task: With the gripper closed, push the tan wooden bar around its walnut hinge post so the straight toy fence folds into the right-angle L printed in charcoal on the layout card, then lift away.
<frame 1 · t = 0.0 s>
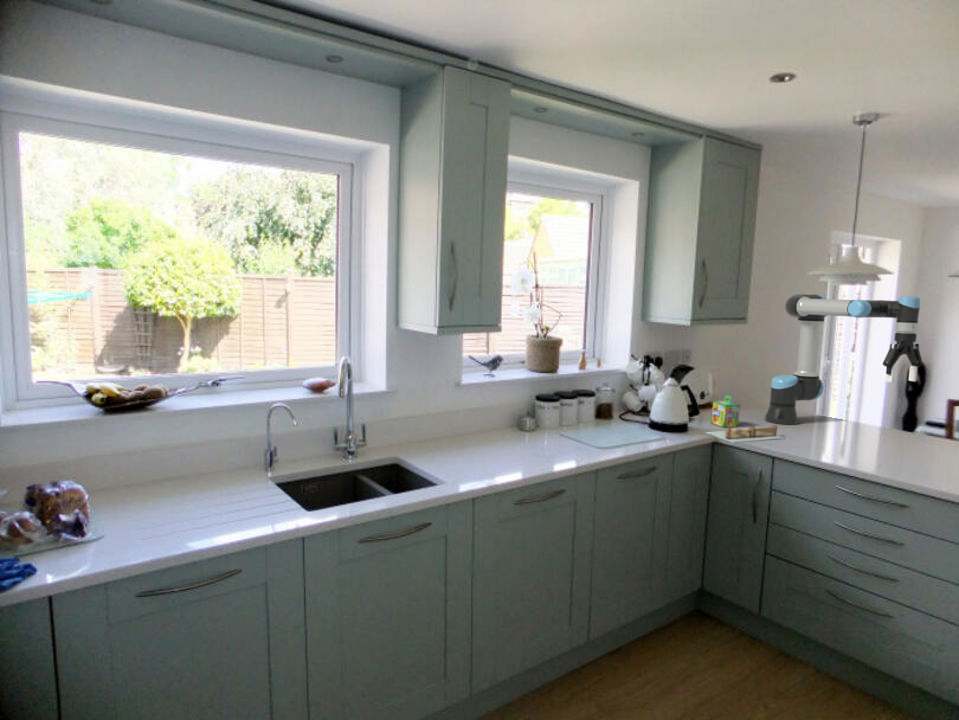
hand: (900, 381, 253), 28 cm above the countertop, fingers open, 13 cm apart
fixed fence: (751, 437, 264), resting on layout card
chalk box: (724, 425, 288), on the countertop
tan wooden bar: (737, 432, 261), point 3 cm above the countertop, hinge at 0.0°
layout card: (744, 435, 267), on the countertop
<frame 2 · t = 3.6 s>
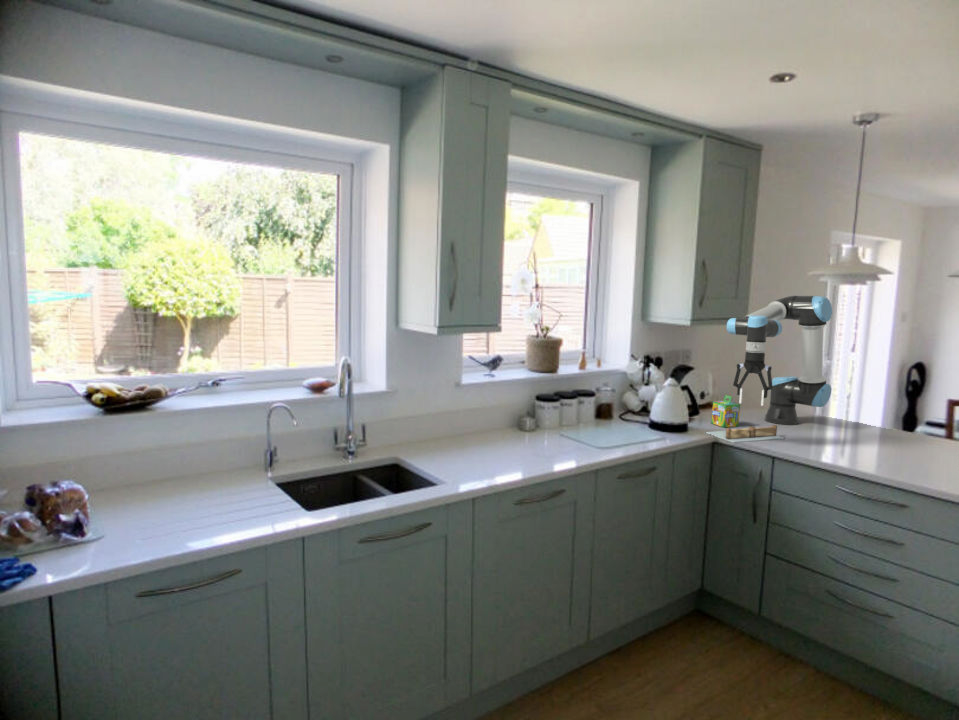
hand: (751, 403, 253), 17 cm above the countertop, fingers open, 8 cm apart
nothing on the countertop moved.
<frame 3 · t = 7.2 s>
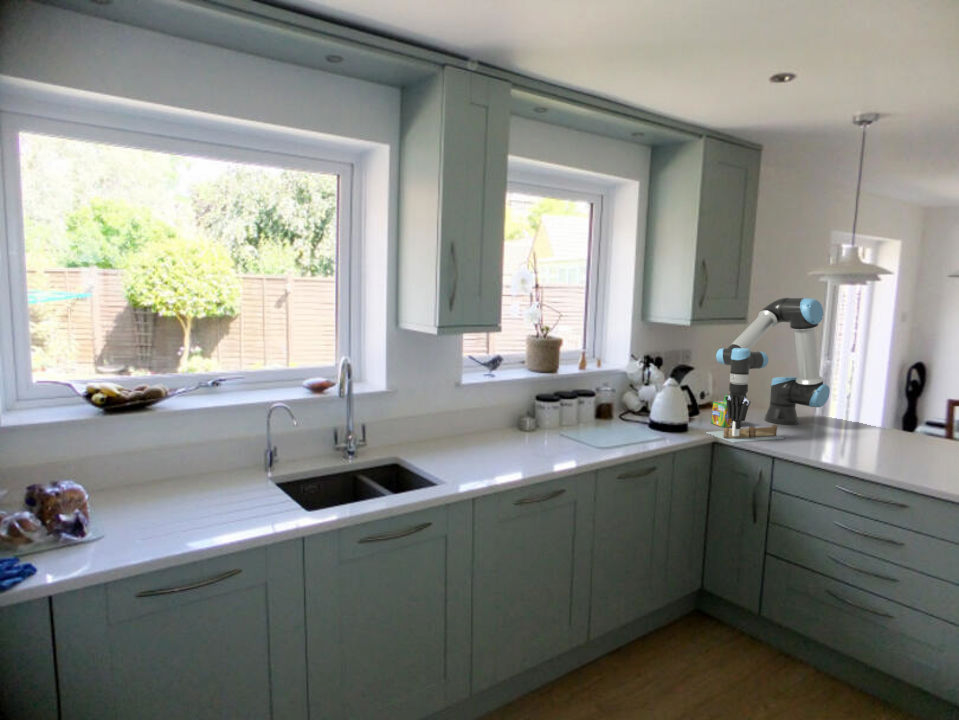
hand: (735, 435, 260), 2 cm above the countertop, fingers closed
tan wooden bar: (736, 432, 262), point 3 cm above the countertop, hinge at -6.0°
everything else where it was.
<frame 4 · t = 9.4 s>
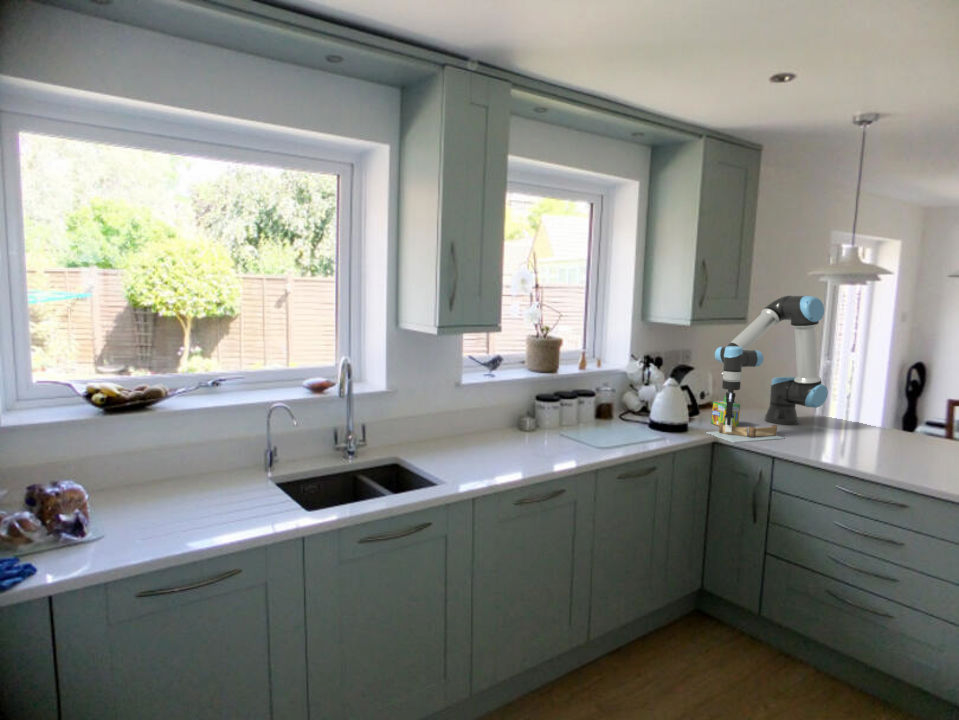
hand: (728, 431, 267), 2 cm above the countertop, fingers closed
tan wooden bar: (733, 429, 268), point 3 cm above the countertop, hinge at -50.3°, touching gripper
everything else where it was.
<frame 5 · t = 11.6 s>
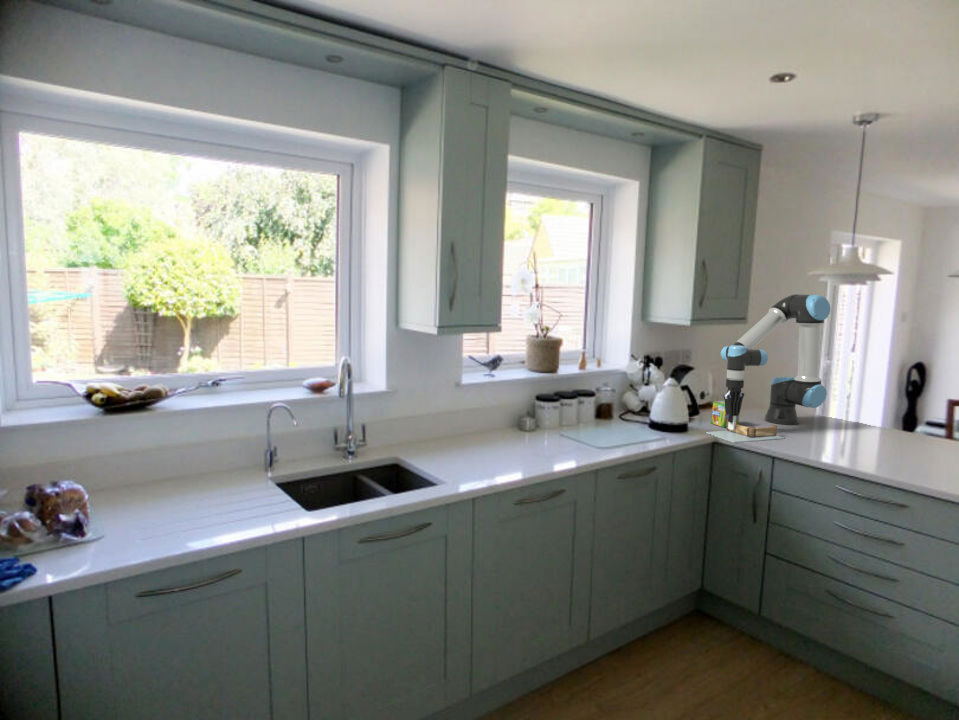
hand: (731, 429, 272), 2 cm above the countertop, fingers closed
tan wooden bar: (737, 427, 270), point 3 cm above the countertop, hinge at -84.4°, touching gripper
everything else where it was.
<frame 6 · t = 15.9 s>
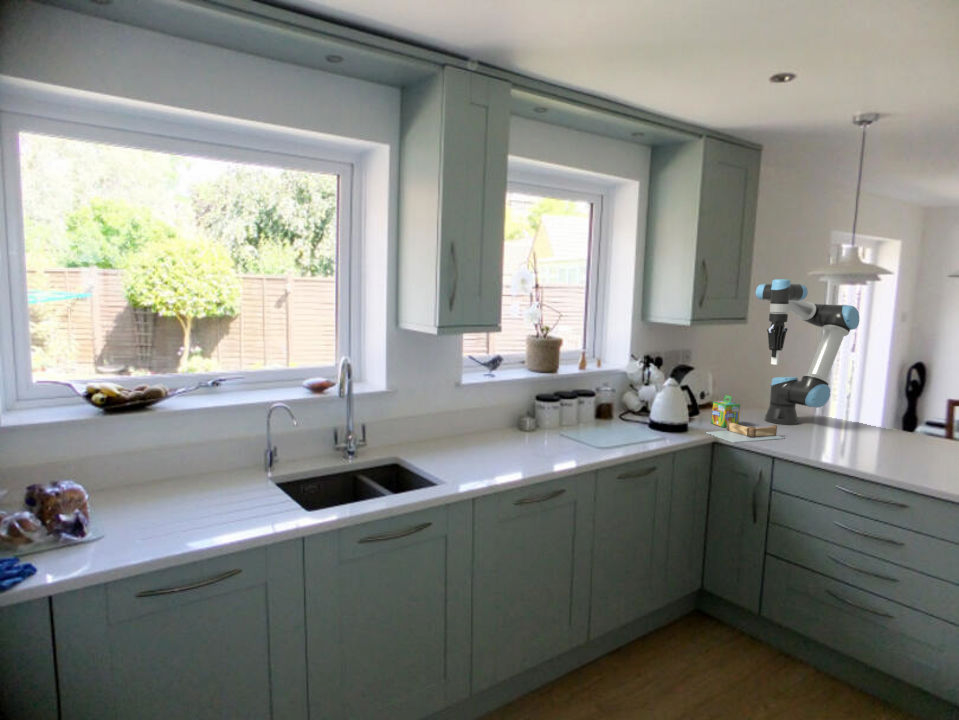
hand: (774, 364, 270), 32 cm above the countertop, fingers closed
tan wooden bar: (737, 427, 270), point 3 cm above the countertop, hinge at -84.4°
everything else where it was.
at the end: tan wooden bar at -84° (first picture: +0°); chalk box moved 0.3 cm from its start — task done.
